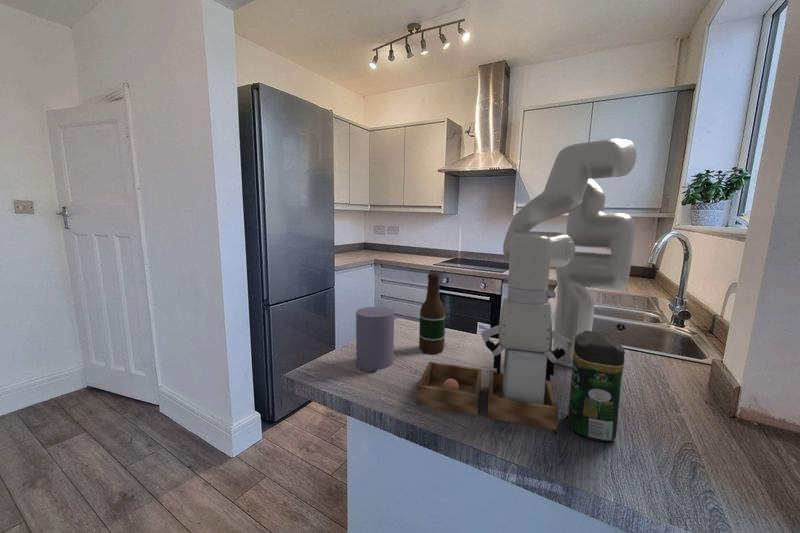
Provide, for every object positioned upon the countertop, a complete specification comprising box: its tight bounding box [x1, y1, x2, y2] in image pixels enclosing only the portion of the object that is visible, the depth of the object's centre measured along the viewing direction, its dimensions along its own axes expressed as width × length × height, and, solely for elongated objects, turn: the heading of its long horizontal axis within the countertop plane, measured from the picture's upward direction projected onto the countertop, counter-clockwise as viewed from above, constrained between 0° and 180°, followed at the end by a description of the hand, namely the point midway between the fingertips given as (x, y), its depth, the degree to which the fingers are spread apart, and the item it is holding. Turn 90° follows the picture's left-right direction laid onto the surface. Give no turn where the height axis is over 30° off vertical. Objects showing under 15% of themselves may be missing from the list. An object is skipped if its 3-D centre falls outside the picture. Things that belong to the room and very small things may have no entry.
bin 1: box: [416, 361, 483, 417], centre depth 72 cm, size 13×13×5 cm
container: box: [355, 306, 395, 373], centre depth 88 cm, size 10×10×15 cm
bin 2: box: [487, 369, 559, 435], centre depth 68 cm, size 13×13×5 cm
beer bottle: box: [418, 272, 446, 355], centre depth 98 cm, size 8×8×24 cm
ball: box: [443, 379, 459, 391], centre depth 72 cm, size 4×4×4 cm
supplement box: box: [502, 348, 547, 405], centre depth 67 cm, size 7×7×13 cm
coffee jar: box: [568, 330, 626, 442], centre depth 61 cm, size 10×8×19 cm
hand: (522, 374), depth 67 cm, fingers open, 9 cm apart
